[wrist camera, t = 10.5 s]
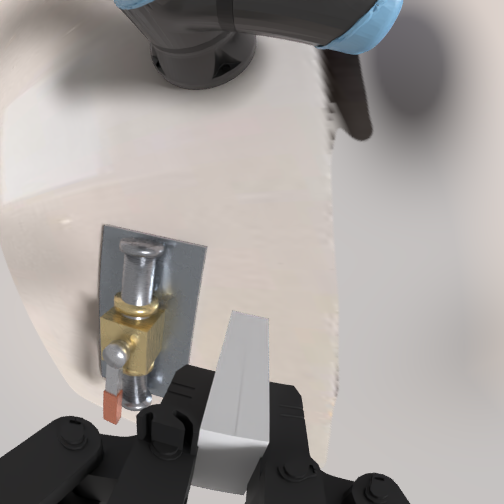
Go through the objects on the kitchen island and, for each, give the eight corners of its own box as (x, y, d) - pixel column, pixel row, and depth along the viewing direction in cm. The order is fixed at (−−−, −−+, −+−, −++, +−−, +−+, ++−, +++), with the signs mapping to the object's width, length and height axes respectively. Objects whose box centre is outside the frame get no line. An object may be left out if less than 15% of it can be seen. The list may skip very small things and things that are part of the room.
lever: (109, 336, 33) (102, 343, 31) (131, 345, 33) (124, 353, 31) (106, 409, 36) (100, 417, 34) (124, 417, 36) (119, 426, 34)
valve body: (107, 224, 40) (72, 233, 31) (207, 246, 40) (191, 261, 31) (104, 373, 46) (81, 401, 37) (184, 399, 46) (171, 434, 37)
